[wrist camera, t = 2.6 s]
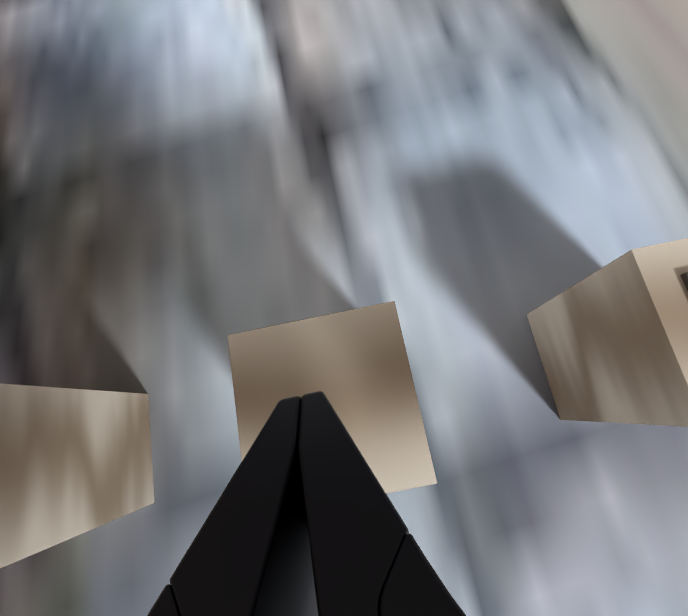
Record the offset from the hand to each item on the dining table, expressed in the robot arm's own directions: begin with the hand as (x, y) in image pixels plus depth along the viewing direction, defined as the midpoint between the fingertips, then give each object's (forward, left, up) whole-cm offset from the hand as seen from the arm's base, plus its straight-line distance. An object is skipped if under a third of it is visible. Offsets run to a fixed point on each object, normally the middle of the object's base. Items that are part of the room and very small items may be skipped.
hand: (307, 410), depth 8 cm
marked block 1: (-8, -9, -11) cm, 16 cm away
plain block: (0, 0, -11) cm, 11 cm away
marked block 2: (+8, +9, -11) cm, 16 cm away
